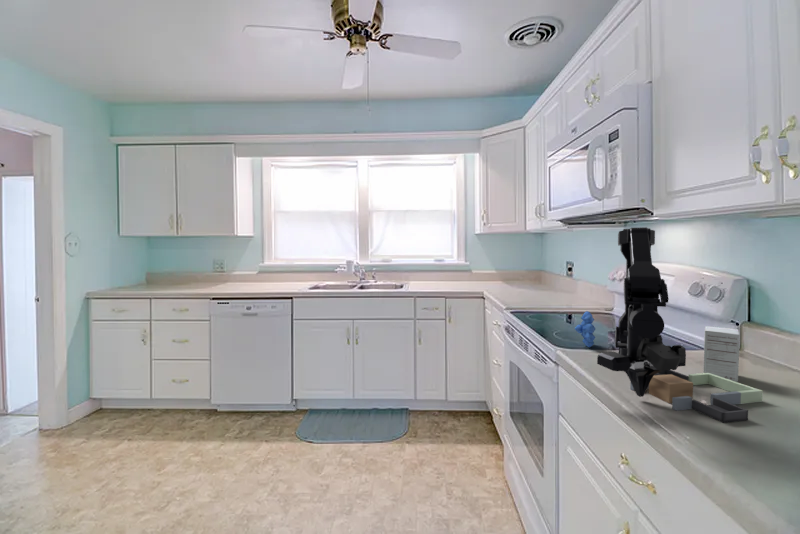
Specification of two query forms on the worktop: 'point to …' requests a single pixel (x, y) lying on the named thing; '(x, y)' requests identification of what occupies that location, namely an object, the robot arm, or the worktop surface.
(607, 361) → the robot arm
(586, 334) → the grapes
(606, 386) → the worktop surface
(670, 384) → the walnut block
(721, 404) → the box
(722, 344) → the supplement box
